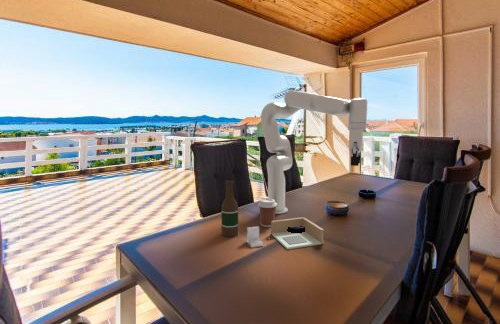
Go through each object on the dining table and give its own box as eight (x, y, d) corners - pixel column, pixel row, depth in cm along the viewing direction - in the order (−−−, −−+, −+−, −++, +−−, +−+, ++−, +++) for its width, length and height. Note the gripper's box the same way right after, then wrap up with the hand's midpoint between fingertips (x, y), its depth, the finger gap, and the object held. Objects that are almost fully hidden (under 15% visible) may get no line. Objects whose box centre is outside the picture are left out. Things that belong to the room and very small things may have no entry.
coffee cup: (254, 224, 130) (254, 200, 128) (266, 220, 136) (266, 196, 135) (268, 229, 123) (268, 203, 122) (280, 224, 130) (280, 200, 128)
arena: (271, 234, 118) (271, 221, 117) (303, 229, 122) (303, 217, 122) (287, 249, 102) (287, 234, 102) (323, 243, 107) (323, 229, 107)
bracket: (246, 241, 110) (246, 227, 109) (258, 240, 111) (258, 226, 111) (251, 247, 104) (251, 233, 104) (263, 246, 106) (263, 231, 105)
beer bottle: (241, 231, 120) (241, 179, 118) (235, 238, 113) (234, 182, 110) (225, 229, 123) (224, 178, 120) (218, 236, 116) (217, 181, 113)
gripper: (350, 126, 130) (348, 161, 132) (346, 126, 115) (344, 166, 117) (367, 126, 127) (365, 162, 129) (365, 126, 111) (363, 167, 113)
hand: (355, 164), depth 123 cm, fingers open, 9 cm apart
